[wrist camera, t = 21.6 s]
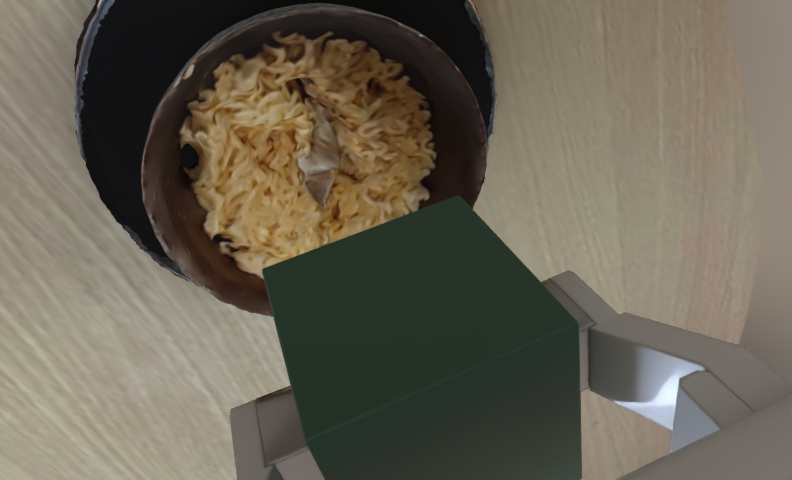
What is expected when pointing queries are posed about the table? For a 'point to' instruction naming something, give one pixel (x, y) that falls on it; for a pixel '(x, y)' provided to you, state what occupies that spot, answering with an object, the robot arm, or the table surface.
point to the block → (429, 354)
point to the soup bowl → (277, 124)
